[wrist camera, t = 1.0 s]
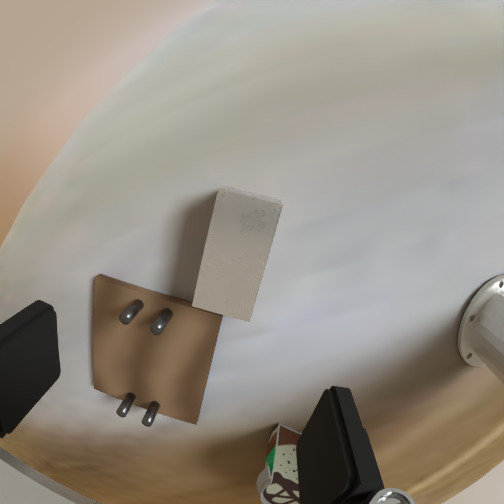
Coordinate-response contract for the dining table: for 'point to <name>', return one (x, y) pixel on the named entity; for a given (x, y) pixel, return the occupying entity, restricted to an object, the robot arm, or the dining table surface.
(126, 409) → the tray pins
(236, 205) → the light grey block
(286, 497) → the food container
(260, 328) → the dining table surface
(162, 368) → the tray
